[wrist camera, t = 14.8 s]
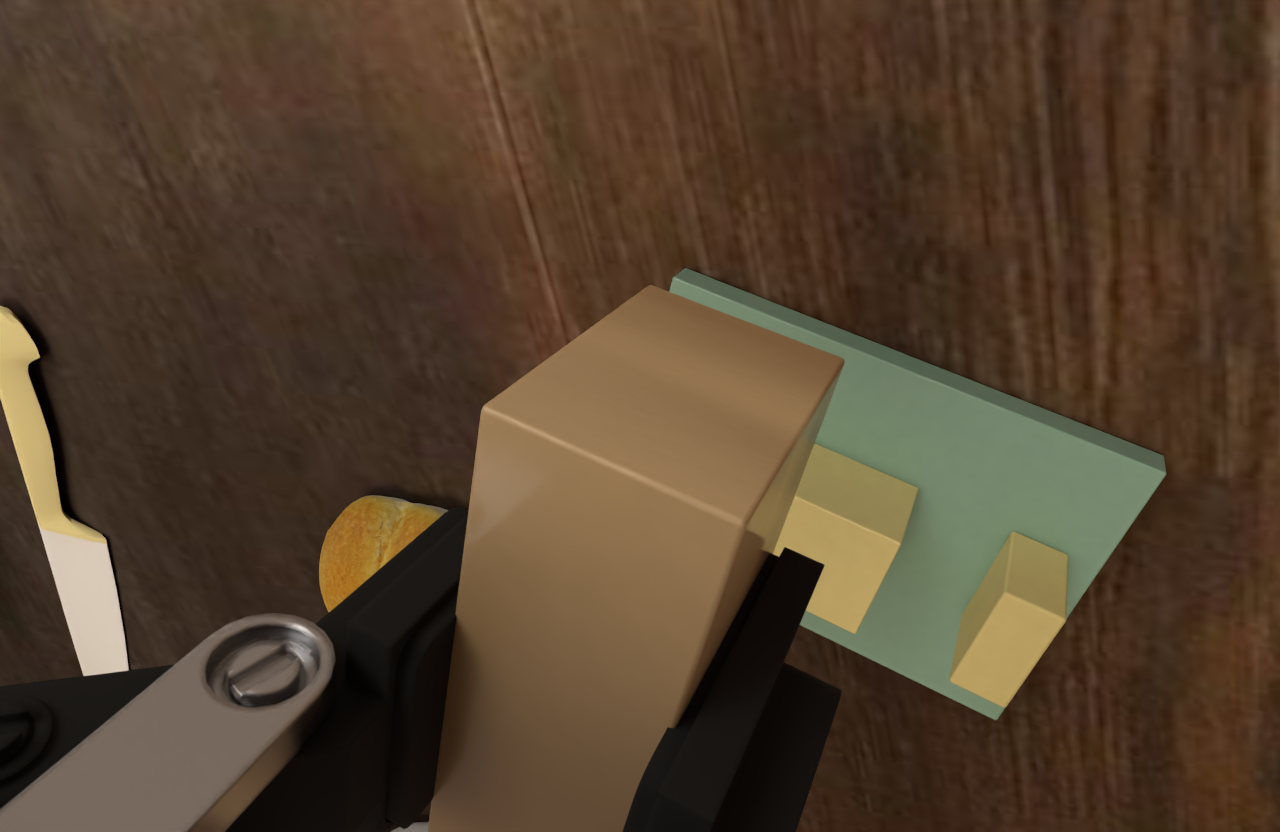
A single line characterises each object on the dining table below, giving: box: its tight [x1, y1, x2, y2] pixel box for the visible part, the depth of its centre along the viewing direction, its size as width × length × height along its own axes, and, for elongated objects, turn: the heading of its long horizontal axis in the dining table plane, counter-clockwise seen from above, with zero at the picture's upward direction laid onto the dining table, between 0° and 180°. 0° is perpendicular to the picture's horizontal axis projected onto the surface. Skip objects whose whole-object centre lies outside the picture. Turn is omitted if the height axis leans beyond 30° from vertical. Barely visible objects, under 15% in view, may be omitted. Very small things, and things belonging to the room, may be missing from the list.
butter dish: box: [669, 268, 1167, 720], centre depth 26 cm, size 10×14×4 cm
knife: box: [0, 306, 129, 676], centre depth 50 cm, size 1×34×5 cm
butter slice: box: [950, 532, 1068, 708], centre depth 24 cm, size 4×2×3 cm, turn 166°
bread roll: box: [319, 495, 449, 612], centre depth 36 cm, size 8×9×4 cm
